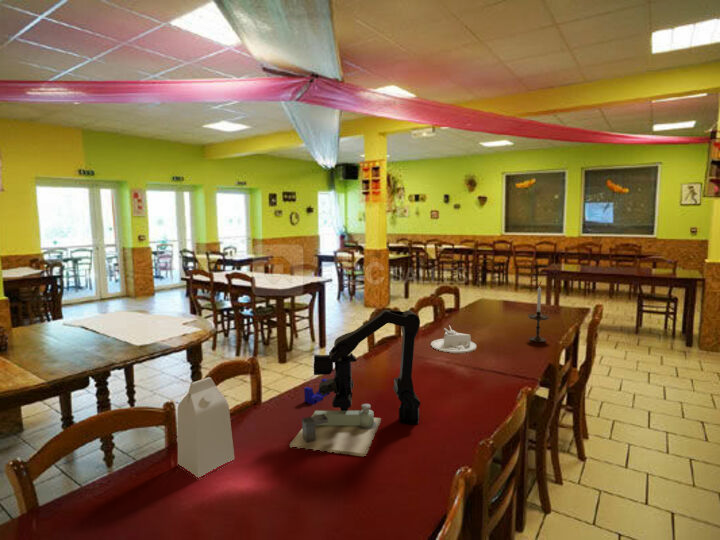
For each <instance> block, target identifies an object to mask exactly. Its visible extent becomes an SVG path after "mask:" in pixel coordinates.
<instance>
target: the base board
mask: <svg viewBox="0 0 720 540" xmlns="http://www.w3.org/2000/svg"><path fill="white" fill-rule="evenodd" d="M312 416H314V413H313V414H312V415H311V416H310V417H312ZM381 421H382V418H381V417H374V424H373V425H372V426H370V427H362V426H337V425H315V440H316V441H312V442H308V443H306V441H305V440H304V438H303V429H302V428H301V429H300V430H299V432H298V433H297V434H296V436H295V437H294V438H293V439H292V441H290V443H289V448H292V447H297V448H296V449H300V448H305V449H304V450H308V449H313V450H312V451H316V450H320V451H319V452H324V451H327V452H326V453H332V452H334V454H340V453H341V454H342V455H348V454H349V455H350V456H355V457H364V456H366V457H367V455H366V454H368V452H369V450H370V448H369V447H371V445H372V442H373V441H372V440H374V437H375V435H376V434H377V431H378V428H379V427H380V424H381ZM378 426H379V427H378ZM375 433H376V434H375ZM341 454H340V455H341ZM349 455H348V456H349Z"/></svg>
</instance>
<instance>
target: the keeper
mask: <svg viewBox="0 0 720 540" xmlns="http://www.w3.org/2000/svg"><path fill="white" fill-rule="evenodd" d="M311 416H312V415H311ZM311 416H307V417H302V418H301V426H302V427H301V429H303V438H304V440H305V441H306V443H308V442H312V441H316V440H315V425H318V424H323V423H327V422H328V418H327V417H326V416H325V415H324V414H321V415H316V416H312V417H311Z"/></svg>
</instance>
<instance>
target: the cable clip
mask: <svg viewBox="0 0 720 540" xmlns="http://www.w3.org/2000/svg"><path fill="white" fill-rule="evenodd" d="M326 380H328V378H323V379H321V382H323V381H326ZM330 393H331V392H330ZM330 393H327V394H325V395H322V394H321V393H320V389H318V390H317V391H316V392H315V393H314V390H313V387H309V386H305V387H304V402H305V403H306V402H307V404H310V405H313V406H314V405H315V404H317V403H320V402H321V401H323V400H324V397H326V396H327V395H329V394H330Z"/></svg>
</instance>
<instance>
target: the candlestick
mask: <svg viewBox="0 0 720 540" xmlns="http://www.w3.org/2000/svg"><path fill="white" fill-rule="evenodd" d="M541 284H542V281H539V284H538V288H537V300H536V301H537V304H536V310H535V311H534V312H535V313H531V314H528V319H531V320H535V321H536V326H535V330H536V331H535V333H536V336H531V337H528V338H529V339H528V340H529V341H530V342H532V341H534V342H533V343H537V342H543V343H546V342H547V339H546V338H544V337H541V336H540V333H541V331H540V330H541V326H540V321H546V320H549V318H550V317H549V315H547V314H542V313H543V311H542V310H541V306H542V305H541V304H542V288H541ZM545 341H546V342H545Z"/></svg>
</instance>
